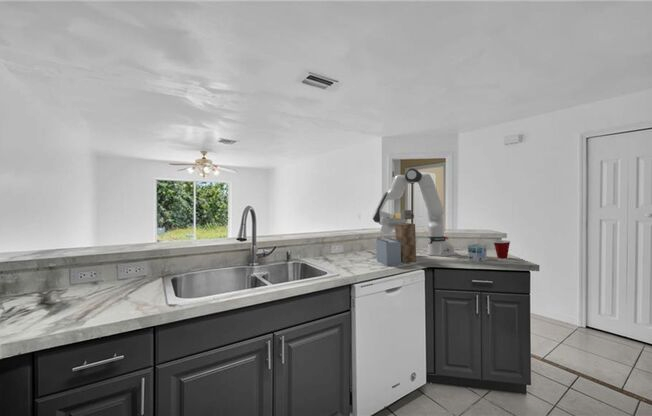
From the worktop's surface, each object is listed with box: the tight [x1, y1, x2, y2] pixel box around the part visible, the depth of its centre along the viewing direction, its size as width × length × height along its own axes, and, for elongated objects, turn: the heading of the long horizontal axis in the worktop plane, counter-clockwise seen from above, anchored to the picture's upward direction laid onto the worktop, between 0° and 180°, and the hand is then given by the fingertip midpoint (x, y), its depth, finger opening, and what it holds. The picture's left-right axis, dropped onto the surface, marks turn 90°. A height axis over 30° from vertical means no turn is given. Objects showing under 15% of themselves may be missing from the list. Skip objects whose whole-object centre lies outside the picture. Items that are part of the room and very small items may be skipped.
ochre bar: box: [392, 209, 413, 220], centre depth 203 cm, size 5×20×6 cm, turn 11°
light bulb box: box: [467, 243, 488, 263], centre depth 194 cm, size 11×7×11 cm, turn 117°
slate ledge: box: [375, 237, 402, 266], centre depth 195 cm, size 10×18×16 cm, turn 11°
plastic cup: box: [492, 239, 511, 259], centre depth 200 cm, size 11×11×12 cm
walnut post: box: [394, 222, 417, 264], centre depth 198 cm, size 10×10×26 cm
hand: (397, 215), depth 210 cm, fingers closed on ochre bar, 3 cm apart
